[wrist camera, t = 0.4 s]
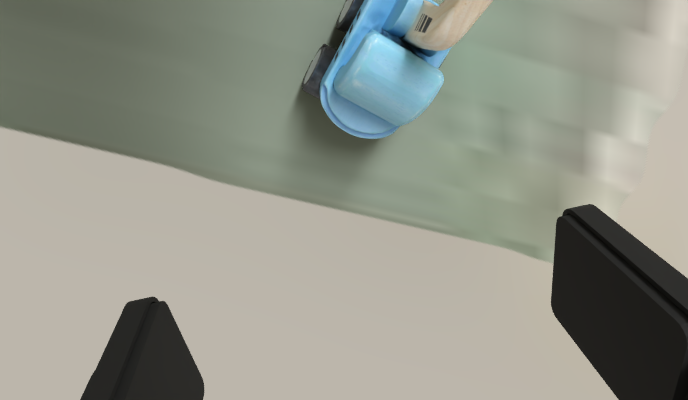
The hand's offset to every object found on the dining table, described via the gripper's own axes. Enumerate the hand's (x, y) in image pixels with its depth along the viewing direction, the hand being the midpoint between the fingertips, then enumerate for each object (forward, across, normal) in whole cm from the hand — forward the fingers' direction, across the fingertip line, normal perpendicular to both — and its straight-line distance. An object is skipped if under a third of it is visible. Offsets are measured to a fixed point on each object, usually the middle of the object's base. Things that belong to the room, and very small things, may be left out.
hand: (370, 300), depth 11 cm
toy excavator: (+31, -7, -1) cm, 32 cm away
